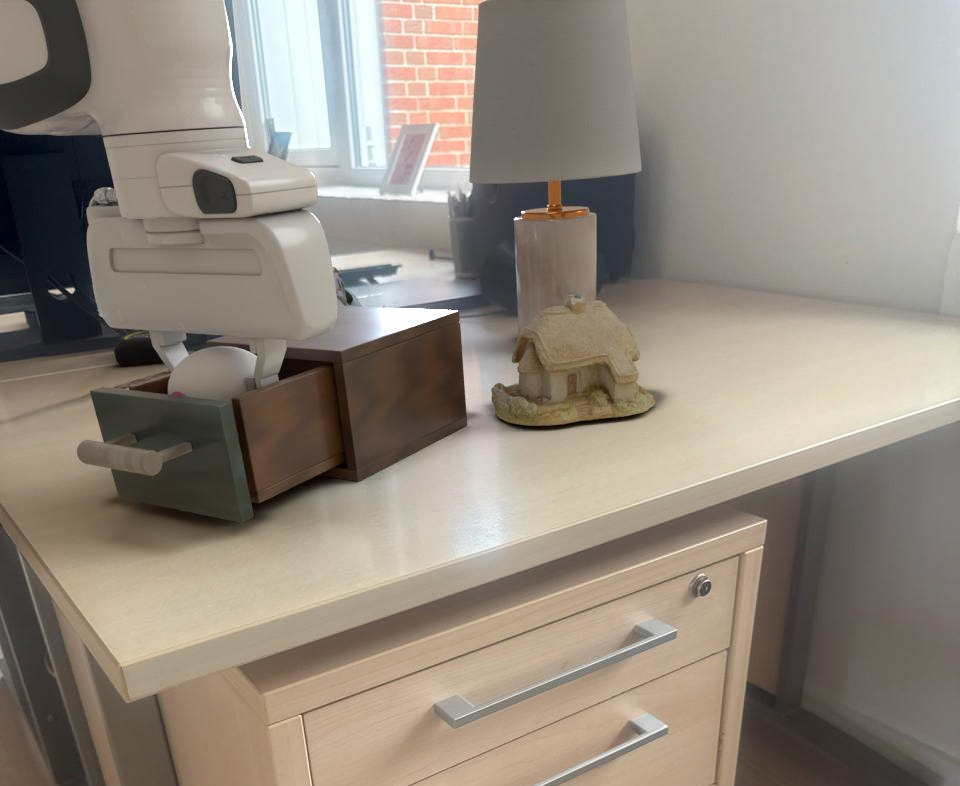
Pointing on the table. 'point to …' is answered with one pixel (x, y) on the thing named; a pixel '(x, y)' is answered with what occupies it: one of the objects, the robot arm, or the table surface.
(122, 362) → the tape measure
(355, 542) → the table surface
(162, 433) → the drawer
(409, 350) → the cabinet
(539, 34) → the lamp
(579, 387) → the ceramic model
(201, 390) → the stress ball
